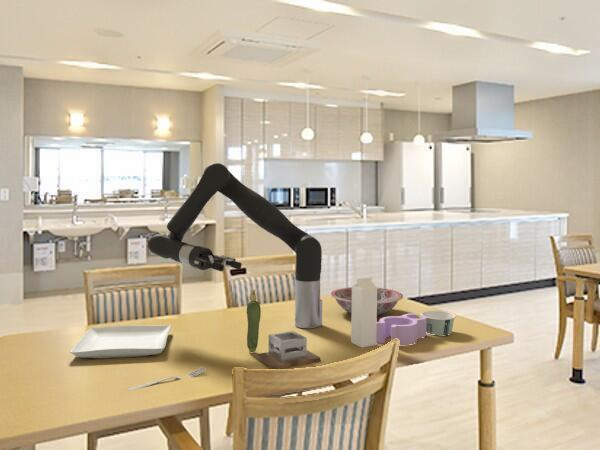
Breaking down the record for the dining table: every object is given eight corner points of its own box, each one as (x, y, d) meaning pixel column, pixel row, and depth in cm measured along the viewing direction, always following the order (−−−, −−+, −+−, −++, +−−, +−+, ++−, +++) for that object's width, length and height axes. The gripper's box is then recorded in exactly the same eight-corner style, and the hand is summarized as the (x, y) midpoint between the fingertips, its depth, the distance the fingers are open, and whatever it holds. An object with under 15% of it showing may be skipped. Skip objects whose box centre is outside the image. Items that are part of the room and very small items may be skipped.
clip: (405, 330, 188) (406, 311, 188) (435, 338, 179) (435, 318, 178) (369, 341, 175) (369, 321, 174) (399, 350, 166) (399, 328, 165)
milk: (376, 345, 170) (378, 278, 168) (361, 348, 167) (362, 280, 165) (365, 340, 175) (366, 275, 174) (350, 342, 172) (351, 277, 171)
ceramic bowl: (315, 314, 210) (315, 294, 209) (356, 301, 232) (357, 284, 231) (377, 327, 191) (378, 306, 190) (415, 312, 213) (416, 293, 212)
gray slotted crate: (292, 349, 162) (292, 330, 161) (306, 357, 155) (306, 338, 154) (268, 354, 158) (268, 334, 157) (281, 362, 150) (281, 342, 150)
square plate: (164, 359, 157) (164, 347, 156) (68, 364, 152) (68, 351, 152) (172, 333, 183) (171, 323, 183) (90, 337, 179) (90, 325, 179)
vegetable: (246, 349, 165) (246, 287, 163) (260, 349, 165) (260, 287, 164) (246, 354, 160) (246, 290, 159) (260, 354, 161) (260, 290, 159)
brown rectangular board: (300, 349, 165) (300, 346, 165) (320, 360, 155) (320, 357, 155) (254, 357, 157) (254, 354, 157) (272, 370, 147) (272, 366, 147)
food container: (462, 334, 183) (463, 316, 182) (438, 339, 177) (439, 320, 176) (436, 326, 193) (437, 308, 192) (413, 331, 187) (413, 313, 186)
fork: (115, 391, 133) (115, 384, 133) (203, 372, 147) (203, 365, 146) (118, 395, 130) (118, 388, 130) (208, 375, 144) (208, 369, 144)
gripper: (181, 246, 169) (218, 257, 161) (211, 244, 181) (247, 254, 173) (178, 268, 170) (215, 280, 161) (209, 265, 182) (244, 276, 173)
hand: (232, 267), depth 167 cm, fingers open, 8 cm apart
